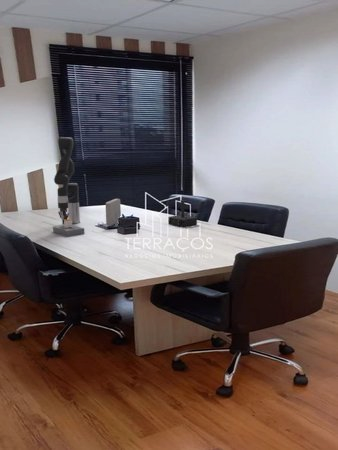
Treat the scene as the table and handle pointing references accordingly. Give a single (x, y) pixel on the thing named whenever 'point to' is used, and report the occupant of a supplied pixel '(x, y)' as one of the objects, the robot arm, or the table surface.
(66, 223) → the lever
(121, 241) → the table surface
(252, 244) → the table surface
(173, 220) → the dark pedestal with post
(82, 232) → the switch panel
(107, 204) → the network device
